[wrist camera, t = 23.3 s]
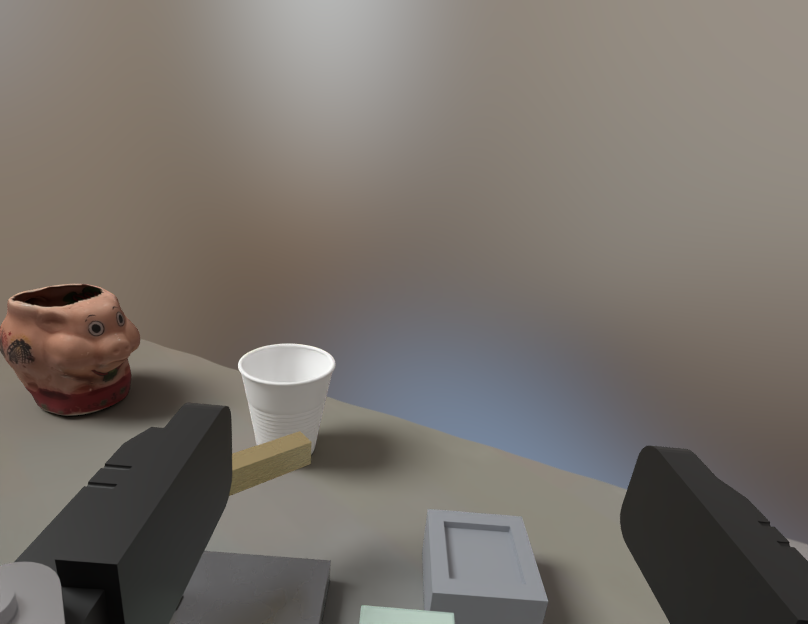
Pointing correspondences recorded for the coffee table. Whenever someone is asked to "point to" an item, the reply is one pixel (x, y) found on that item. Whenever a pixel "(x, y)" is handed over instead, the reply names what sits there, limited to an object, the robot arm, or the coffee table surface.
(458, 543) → the housing
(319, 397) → the cup
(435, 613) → the cover
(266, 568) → the plate
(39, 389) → the decorative planter
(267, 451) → the brown piece
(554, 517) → the coffee table surface
